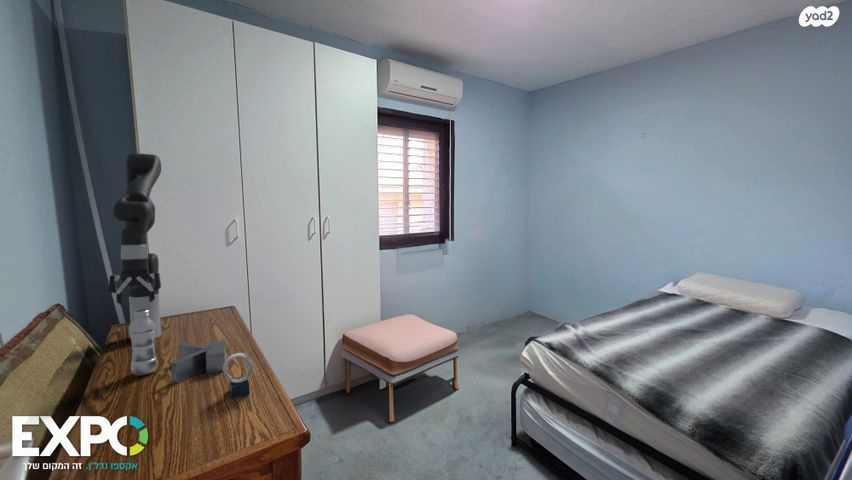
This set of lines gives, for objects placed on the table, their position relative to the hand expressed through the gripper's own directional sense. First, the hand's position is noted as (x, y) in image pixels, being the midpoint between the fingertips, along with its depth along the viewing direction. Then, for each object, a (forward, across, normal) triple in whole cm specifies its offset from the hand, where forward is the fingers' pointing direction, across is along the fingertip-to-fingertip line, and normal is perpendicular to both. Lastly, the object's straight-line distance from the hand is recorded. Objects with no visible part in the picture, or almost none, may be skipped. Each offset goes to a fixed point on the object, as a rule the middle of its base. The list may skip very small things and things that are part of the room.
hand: (136, 302), depth 129 cm
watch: (+21, -32, +47) cm, 61 cm away
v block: (+19, -21, +25) cm, 38 cm away
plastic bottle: (+19, -6, +22) cm, 30 cm away
